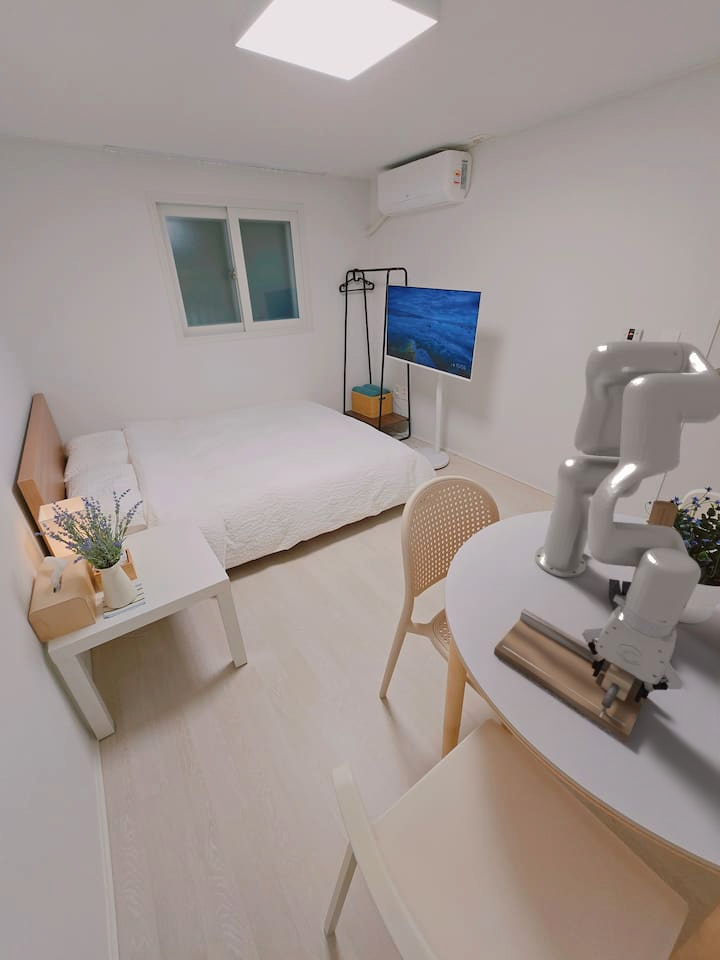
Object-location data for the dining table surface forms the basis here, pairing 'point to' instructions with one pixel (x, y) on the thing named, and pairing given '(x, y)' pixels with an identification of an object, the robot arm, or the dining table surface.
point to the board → (567, 671)
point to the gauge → (616, 685)
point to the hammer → (660, 515)
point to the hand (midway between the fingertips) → (617, 683)
